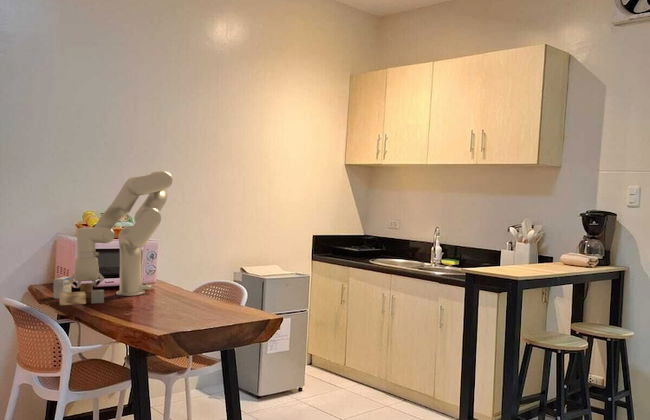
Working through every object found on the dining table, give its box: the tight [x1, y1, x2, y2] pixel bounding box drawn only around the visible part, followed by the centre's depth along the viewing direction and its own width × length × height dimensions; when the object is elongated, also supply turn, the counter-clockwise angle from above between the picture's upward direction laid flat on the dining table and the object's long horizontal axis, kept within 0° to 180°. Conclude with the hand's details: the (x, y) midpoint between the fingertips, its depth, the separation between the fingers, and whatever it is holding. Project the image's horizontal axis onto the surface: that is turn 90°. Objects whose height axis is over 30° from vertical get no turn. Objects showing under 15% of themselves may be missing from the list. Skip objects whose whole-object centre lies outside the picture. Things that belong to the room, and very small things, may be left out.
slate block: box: [90, 289, 105, 304], centre depth 249 cm, size 5×5×5 cm
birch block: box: [59, 291, 87, 306], centre depth 248 cm, size 10×10×4 cm
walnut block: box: [80, 282, 93, 299], centre depth 259 cm, size 5×5×6 cm
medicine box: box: [53, 276, 72, 300], centre depth 260 cm, size 8×4×9 cm, turn 179°
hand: (86, 295), depth 259 cm, fingers closed on walnut block, 5 cm apart
